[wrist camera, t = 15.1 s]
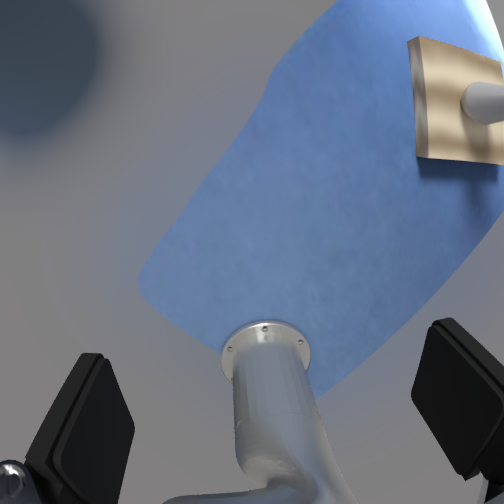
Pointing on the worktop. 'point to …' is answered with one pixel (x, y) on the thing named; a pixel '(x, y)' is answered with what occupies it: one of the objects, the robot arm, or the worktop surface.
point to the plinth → (452, 103)
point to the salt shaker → (484, 102)
